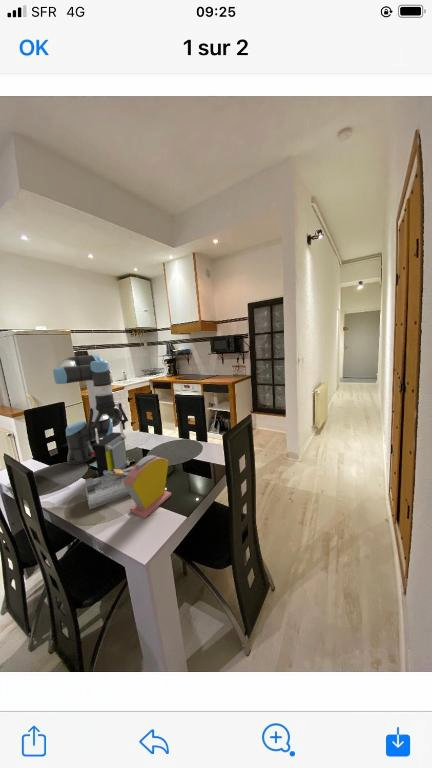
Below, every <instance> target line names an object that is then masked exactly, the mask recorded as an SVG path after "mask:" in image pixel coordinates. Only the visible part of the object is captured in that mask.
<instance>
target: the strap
mask: <svg viewBox="0 0 432 768" xmlns="http://www.w3.org/2000/svg"><path fill="white" fill-rule="evenodd" d="M103 473H104V475H110V476H123V477H127V475H128V473H129V472H123V471H122V470H119V469H113V471H106V470H104V471H103Z"/></svg>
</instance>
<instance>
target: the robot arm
mask: <svg viewBox="0 0 432 768" xmlns="http://www.w3.org/2000/svg"><path fill="white" fill-rule="evenodd" d="M52 372H53V373H52V374H53V379H54V380H53V381H54V383H55V384H56V385H65V384H72V383H79V382H85V383H86V390H87V397H88V402H89V408H88V410H89V415H88V420H87V422H86V421H85V420H82V421H76V422H73V423H72V424H69V425H68V426H66V428H65V437H66V441H67V446H68V447H67V448H68V453H67V459H66V461H67V464H69V463H70V464H69V465H73V464H74V465H78V464H77V463H81V464H84V463H86V462H89V461H90V460H92V459H94V457H95V456H94V455H93V454H92V452H94V451H93V449H92V446H91V444H90V442H92V441H95V443H96V442H97V444H98V443H99V441H100V440H101V439H103V438H104V437H106V436H107V435H109V434H111V433H114V424H113V418H110V416H109V415H108V414H111V413H112V414H113V415H114V417H116V419H118V421H120V422H119V429H120V433H121V436H122V437H124V435H125V433H124V430H126V425H125V423H126V422H129V418H128V416H127V414H126V413H125V411H124V408H123V406H122V405H123V404H122V403H121V402H120V401H119V402H117V403H116V402H115V400H114V394H113V388H112V387H113V386H112V382H111V381H112V380H111V374H110V373H111V372H110V365H109V361H108V360H105V359H104V360H103V358H102V357H101V355H99V354H89V355H79V356H78V355H77V356H75V355H74V356H71V357H66V358H65V359H62V360H60V361H59V362H58V364H57V367H55V368H53V369H52ZM115 407H116V408H118V410H119V412H120V414H121V415H122V417H121V416H119V414H118V413H117V412H116V411H115V410H114V409H115ZM122 418H123V419H122Z"/></svg>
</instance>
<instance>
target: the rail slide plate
mask: <svg viewBox="0 0 432 768" xmlns="http://www.w3.org/2000/svg"><path fill="white" fill-rule="evenodd" d="M134 466H135V465H133V466H130V467H126V468H124V469H123V470H122V471H123V472H130V471H131V469H132V468H133V467H134ZM99 478H100V480H101V484H99V485H96V486H95V490H94V491H91V492H87V487H86V485H85V486H84V489H85V495H86V499H87V503H88V508H89V510H92V509H95V508H97V507H100V506H103V505H106V504H109V503H111V502H114V501H116V500H119V499H122V498H124V497H128V496H129V495H130V494H129V492H128V490H127V489H126V487H125V485H124V480H125V478H126V477H123V476H110V475H105V476H101V477H99V476H98V477H96V478H93V480H96V479H99ZM85 484H86V481H85ZM130 496H131V495H130Z"/></svg>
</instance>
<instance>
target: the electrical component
mask: <svg viewBox="0 0 432 768" xmlns="http://www.w3.org/2000/svg"><path fill="white" fill-rule="evenodd" d="M126 439H127V435H125V434H124V437H122V436H121V432H113V433H111V434H109V435H107V436H106V437H104V438H101V439H99V443H98V444H97V442H96V441H95V442H94V443H93V444H92V445H91V448H92V450H93V452H92V454H93V455H94V457H95V462H96V467H97V474H98V477H101V476H105V475H104V473H103V471H104V470H106V471H113V469H119V470H124V469H126V468H127V466H130V461H129V459H128V457H127V456H128V455H127V449H126V443H125V440H126Z"/></svg>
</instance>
